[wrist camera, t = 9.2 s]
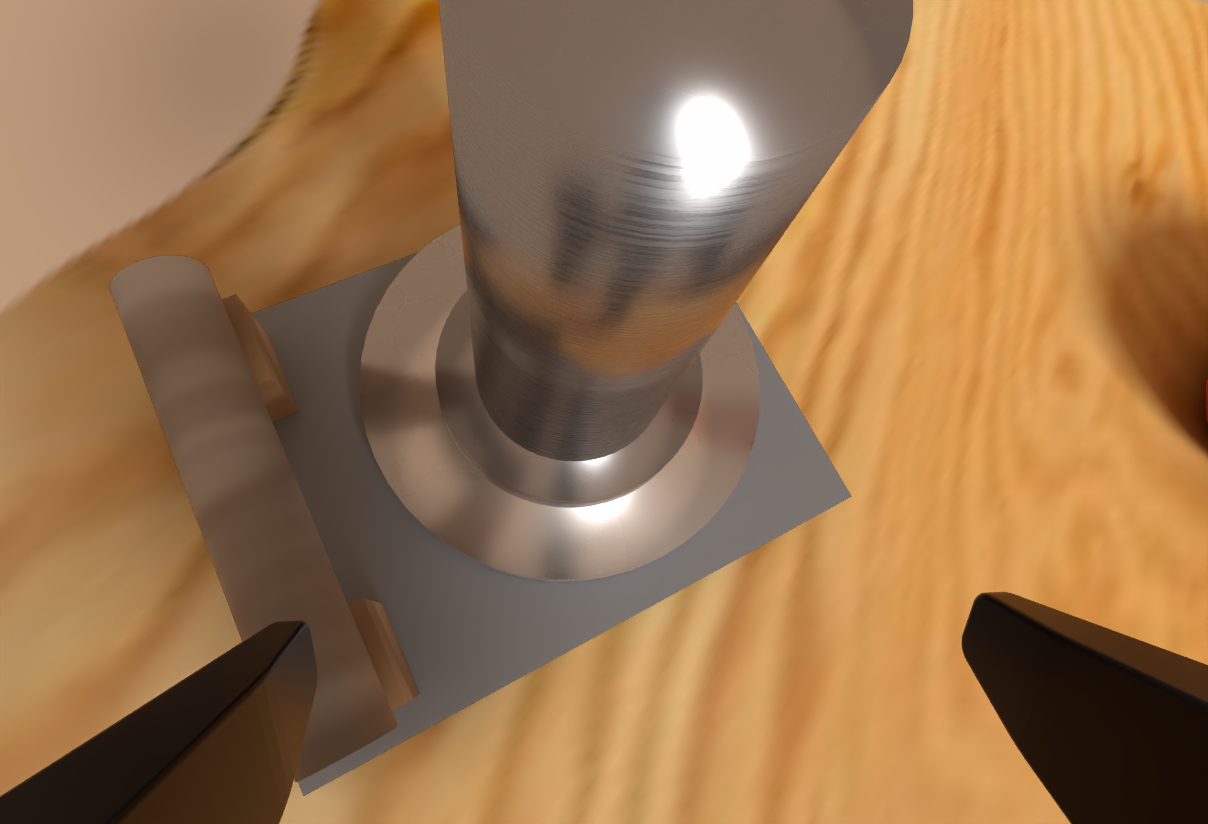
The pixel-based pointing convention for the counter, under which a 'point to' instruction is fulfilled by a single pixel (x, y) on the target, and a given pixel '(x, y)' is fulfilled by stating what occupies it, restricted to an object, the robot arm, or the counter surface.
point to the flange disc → (510, 524)
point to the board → (455, 583)
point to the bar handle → (257, 495)
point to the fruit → (1207, 400)
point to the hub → (627, 210)
